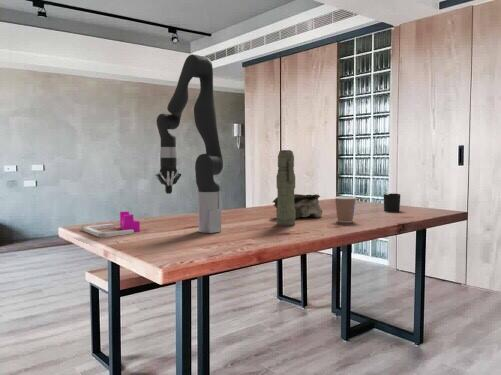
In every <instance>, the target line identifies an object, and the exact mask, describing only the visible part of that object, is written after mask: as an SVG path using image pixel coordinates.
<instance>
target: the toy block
mask: <svg viewBox="0 0 501 375" xmlns="http://www.w3.org/2000/svg"><path fill="white" fill-rule="evenodd" d="M140 224H141V223H140V220H134V214H130V211H129V210H126V211H119V226H120V229H121V231H123V230H131V229H132V230H134V233H138V232H139V233H140V232H141V231H140V230H141V227H140Z"/></svg>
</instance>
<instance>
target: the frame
mask: <svg viewBox="0 0 501 375" xmlns="http://www.w3.org/2000/svg"><path fill="white" fill-rule="evenodd" d="M115 225H116V224H114V223H106V224H99V225H87V226H81V231H82V232H85V233H88V234H90V235H93V236H96V237H97V238H101V239H102V238H108V237H110V238H111V237H115V236H117V237H118V236H125V235H134V234H135V232H134V230H132V229H131V230H115V231H108V232H103V231H100V230H102V229H103V230H105V229H113V228H116V227H115Z"/></svg>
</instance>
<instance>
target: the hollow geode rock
mask: <svg viewBox="0 0 501 375" xmlns="http://www.w3.org/2000/svg"><path fill="white" fill-rule="evenodd" d="M319 198H321V196H320V195H319V194H315V193H314V194H297V193H294V208H295V219H298V218H299V219H300V218H301V217H302V218H307V217H313V218H321V217H322V215H323V210H322V208H321V206H320V204H319V202H320V201H319ZM272 203H274V204H273V207H275V208H276V209H275V210H276V211H277V208H278V196H277V197H276V198H274V199H273V200H272Z"/></svg>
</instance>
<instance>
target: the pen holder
mask: <svg viewBox="0 0 501 375" xmlns="http://www.w3.org/2000/svg"><path fill="white" fill-rule="evenodd" d="M383 210H384V212H390V213H392V212H393V213H397V212H399V211H400V210H401V194H400V193H388V194H387V193H383Z"/></svg>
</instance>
